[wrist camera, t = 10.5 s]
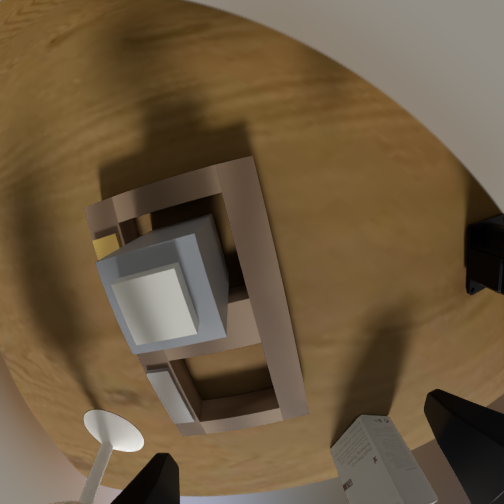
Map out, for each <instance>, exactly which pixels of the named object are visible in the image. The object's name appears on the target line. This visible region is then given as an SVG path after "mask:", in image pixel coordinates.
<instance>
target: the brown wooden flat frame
mask: <svg viewBox="0 0 504 504" xmlns="http://www.w3.org/2000/svg"><path fill="white" fill-rule="evenodd" d="M218 193H222V195H223V199H224V203H225V207H226V211H227V215H228V219H229V223H230V226H231V230H232V234H233V238H234V242H235V246H236V250H237V254H238V257H239V261H240V265H241V269H242V273H243V276H244V280H245V285H241V286H237V287H233V288H229V289H228V314H227V337H224V338H219V339H215V340H210V341H205V342H201V343H196V344H191V345H186V346H180V347H175V348H170V349H164V350H158V351H152V352H146V353H140V354H137V356H138V358H139V360H140V362H141V364H142V366H143V368H144V370H145V372H146V375H147V377H148V379H149V381H150V382H151V384H152V386H153V388H154V390H155V392H156V393H157V395H158V397H159V399H160V400H161V402H162V404H163V406H164V407H165V409H166V411H167V412H168V414H169V416H170V417H171V419H172V421H173V422H174V424H175V425H176V426H177V428H178V429H179V431H180V433H181V434H182V436H189V435H200V434H209V433H217V432H224V431H231V430H237V429H243V428H249V427H254V426H259V425H264V424H269V423H274V422H278V421H282V420H287V419H291V418H295V417H298V416H302V415H306V414H309V410H308V405H307V399H306V394H305V389H304V384H303V379H302V374H301V369H300V364H299V359H298V354H297V349H296V344H295V339H294V334H293V329H292V325H291V320H290V315H289V310H288V306H287V301H286V297H285V292H284V287H283V283H282V278H281V274H280V269H279V265H278V260H277V256H276V251H275V247H274V243H273V238H272V234H271V230H270V225H269V221H268V217H267V213H266V208H265V204H264V200H263V196H262V192H261V188H260V183H259V179H258V175H257V171H256V167H255V163H254V159H253V156H249V157H245V158H240V159H236V160H232V161H228V162H224V163H220V164H216V165H212V166H209V167H205V168H201V169H198V170H194V171H190V172H187V173H184V174H180V175H177V176H173V177H170V178H167V179H164V180H160V181H157V182H154V183H151V184H148V185H145V186H142V187H139V188H136V189H133V190H130V191H127V192H124V193H122V194H119V195H116V196H113V197H111V198H108V199H105V200H103V201H100V202H97V203H95V204H92V205H90V206H87V207H85V208H84V210H85V214H86V218H87V222H88V225H89V229H90V232H91V236H92V239H93V245H94V248H95V251H96V254H97V257H98V260H100V259H102V258H104V257H105V256H107V255H109V254H110V253H112V252H114V251H116V250H117V249H119V248H121V247H123V246H124V245H126V244H128V243H130V242H132V241H133V240H135V239H137V238H139V236H138V232H137V229H136V225H135V222H134V218H135V217H138V216H141V215H144V214H148V213H151V212H154V211H157V210H161V209H164V208H168V207H171V206H174V205H178V204H181V203H185V202H188V201H192V200H196V199H199V198H203V197H207V196H210V195H214V194H218ZM257 343H262V347H263V351H264V354H265V358H266V361H267V365H268V369H269V372H270V376H271V379H272V383H273V386H274V387H273V388H269V389H264V390H260V391H255V392H250V393H245V394H240V395H235V396H230V397H224V398H218V399H212V400H205V401H202V399H201V397H200V395H199V393H198V391H197V389H196V387H195V385H194V383H193V380H192V378H191V376H190V374H189V372H188V369H187V367H186V365H185V363H184V360H183V358H189V357H195V356H200V355H206V354H211V353H216V352H221V351H226V350H230V349H235V348H239V347H244V346H248V345H253V344H257Z"/></svg>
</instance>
